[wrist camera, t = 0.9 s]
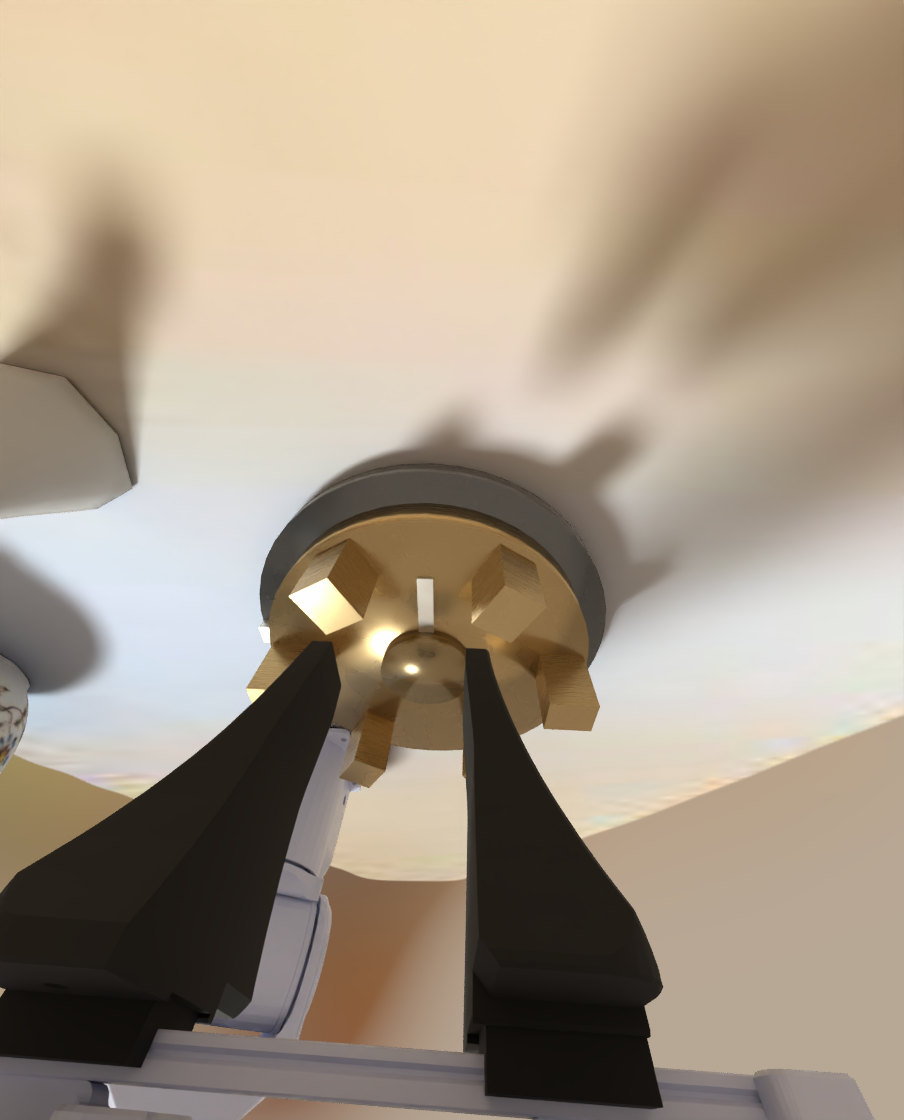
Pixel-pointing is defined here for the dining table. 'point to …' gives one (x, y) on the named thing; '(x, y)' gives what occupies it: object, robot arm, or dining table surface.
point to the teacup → (11, 708)
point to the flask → (54, 448)
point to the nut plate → (449, 490)
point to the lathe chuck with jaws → (431, 628)
